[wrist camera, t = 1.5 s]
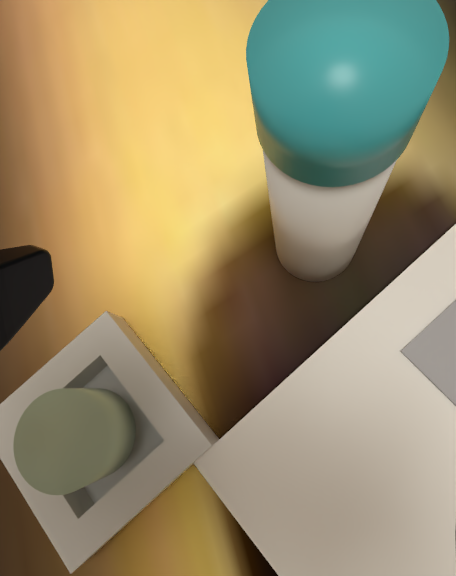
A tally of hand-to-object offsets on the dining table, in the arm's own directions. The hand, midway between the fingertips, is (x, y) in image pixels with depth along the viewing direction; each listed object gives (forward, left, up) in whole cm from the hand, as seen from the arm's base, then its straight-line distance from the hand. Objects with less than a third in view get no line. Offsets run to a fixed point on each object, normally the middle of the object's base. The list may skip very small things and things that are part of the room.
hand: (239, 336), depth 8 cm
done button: (-8, +3, -11) cm, 14 cm away
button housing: (-8, +3, -13) cm, 15 cm away
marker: (+6, +3, -13) cm, 14 cm away
